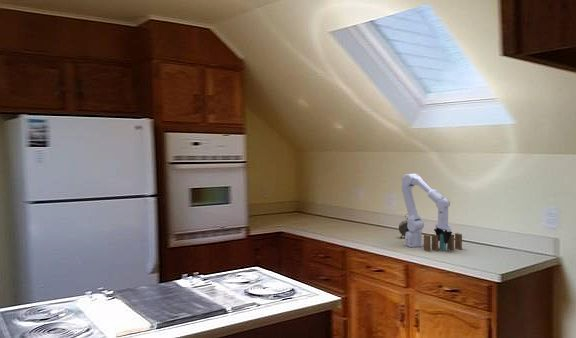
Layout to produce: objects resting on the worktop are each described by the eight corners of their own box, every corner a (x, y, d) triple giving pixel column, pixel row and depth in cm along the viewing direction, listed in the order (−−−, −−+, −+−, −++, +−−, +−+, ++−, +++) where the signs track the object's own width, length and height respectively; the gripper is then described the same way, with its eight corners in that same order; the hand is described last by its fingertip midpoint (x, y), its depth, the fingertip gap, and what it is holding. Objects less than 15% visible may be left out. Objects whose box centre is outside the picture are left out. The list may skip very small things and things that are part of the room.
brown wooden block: (427, 251, 290) (427, 236, 290) (423, 249, 295) (423, 234, 294) (430, 251, 290) (430, 236, 290) (426, 249, 295) (426, 234, 295)
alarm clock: (414, 237, 335) (414, 213, 334) (416, 238, 329) (417, 214, 328) (398, 237, 335) (398, 213, 334) (400, 239, 329) (400, 214, 328)
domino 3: (451, 250, 293) (451, 235, 293) (447, 248, 298) (447, 233, 297) (454, 250, 293) (454, 234, 293) (449, 248, 298) (449, 233, 298)
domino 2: (435, 251, 291) (435, 235, 291) (431, 249, 296) (431, 234, 295) (438, 251, 291) (438, 235, 291) (434, 249, 296) (434, 234, 296)
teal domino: (443, 250, 292) (443, 235, 292) (439, 249, 297) (439, 233, 296) (446, 250, 292) (446, 235, 292) (442, 248, 297) (442, 233, 297)
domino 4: (459, 249, 294) (459, 234, 294) (454, 248, 299) (455, 233, 298) (461, 249, 294) (462, 234, 294) (457, 248, 299) (457, 233, 299)
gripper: (455, 220, 287) (455, 244, 288) (443, 217, 302) (442, 239, 302) (444, 221, 286) (444, 244, 287) (432, 217, 300) (432, 240, 301)
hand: (442, 242), depth 294 cm, fingers open, 7 cm apart
